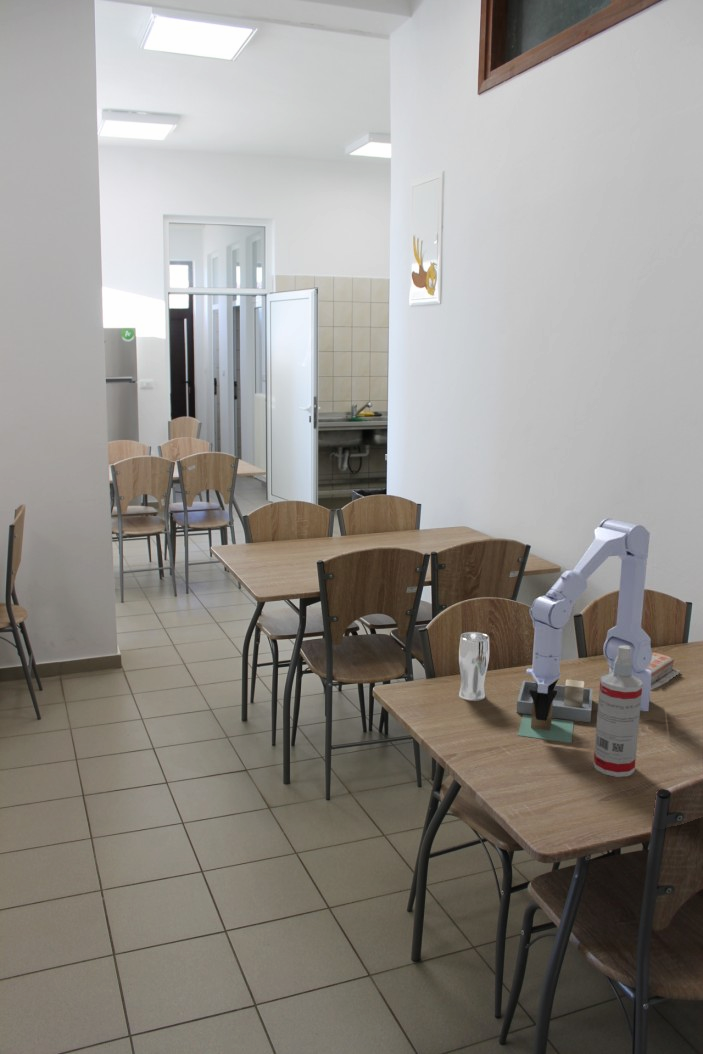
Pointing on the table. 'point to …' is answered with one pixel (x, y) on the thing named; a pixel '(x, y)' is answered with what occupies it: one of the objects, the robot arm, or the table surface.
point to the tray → (556, 703)
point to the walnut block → (541, 723)
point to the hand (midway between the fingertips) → (542, 712)
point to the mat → (557, 732)
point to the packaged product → (661, 669)
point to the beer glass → (473, 665)
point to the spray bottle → (618, 718)
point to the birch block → (574, 693)
